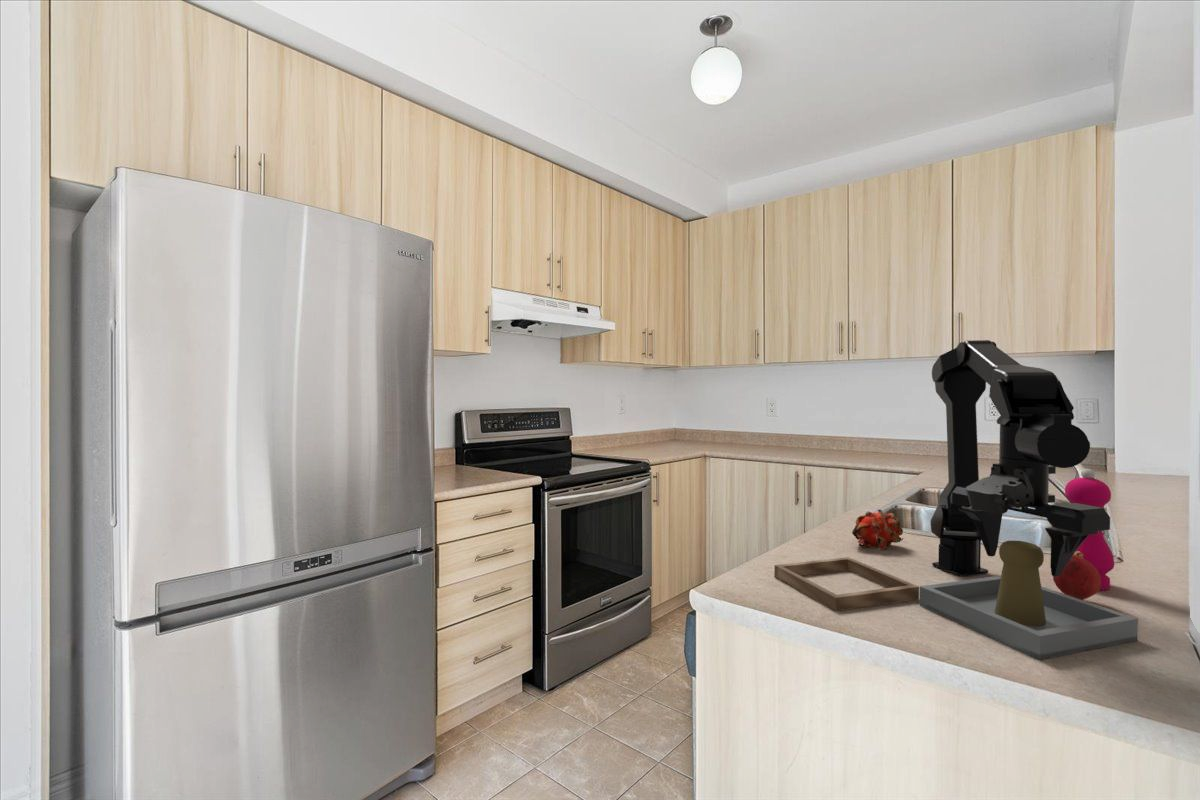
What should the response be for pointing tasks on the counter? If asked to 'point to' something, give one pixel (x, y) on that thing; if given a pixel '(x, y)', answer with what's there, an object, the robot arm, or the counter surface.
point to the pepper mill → (1095, 545)
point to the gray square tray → (1063, 633)
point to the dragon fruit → (878, 530)
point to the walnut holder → (893, 593)
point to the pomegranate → (1078, 578)
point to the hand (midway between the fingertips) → (1021, 565)
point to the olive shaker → (1021, 584)
